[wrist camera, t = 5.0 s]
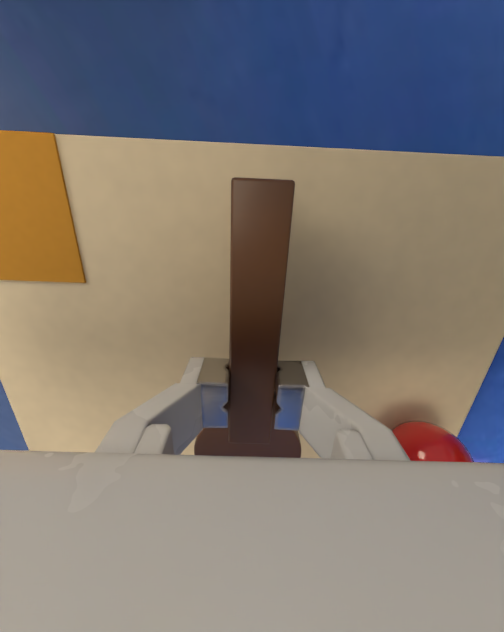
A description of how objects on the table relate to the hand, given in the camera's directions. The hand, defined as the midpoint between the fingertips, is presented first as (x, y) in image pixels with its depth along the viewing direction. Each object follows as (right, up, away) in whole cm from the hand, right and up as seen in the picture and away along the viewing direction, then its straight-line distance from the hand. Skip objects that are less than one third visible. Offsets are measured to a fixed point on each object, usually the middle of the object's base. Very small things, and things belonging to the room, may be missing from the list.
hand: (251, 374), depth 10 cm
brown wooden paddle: (0, 0, +1) cm, 1 cm away
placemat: (0, +1, +2) cm, 2 cm away
